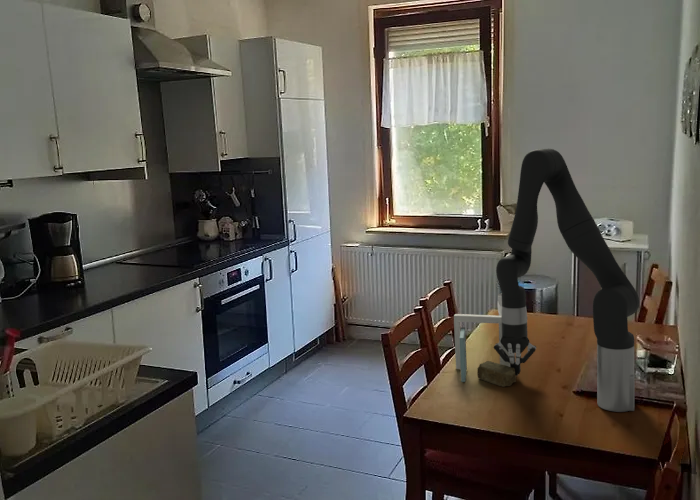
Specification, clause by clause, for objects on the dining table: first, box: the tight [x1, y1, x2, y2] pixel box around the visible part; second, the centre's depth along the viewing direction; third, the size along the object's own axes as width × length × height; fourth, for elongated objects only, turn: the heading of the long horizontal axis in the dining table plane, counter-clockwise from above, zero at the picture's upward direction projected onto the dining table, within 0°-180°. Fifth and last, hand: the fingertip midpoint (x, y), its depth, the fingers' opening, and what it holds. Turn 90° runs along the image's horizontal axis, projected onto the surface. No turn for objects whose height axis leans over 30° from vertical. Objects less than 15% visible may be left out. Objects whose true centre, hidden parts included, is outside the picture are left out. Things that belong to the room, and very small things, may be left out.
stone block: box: [477, 360, 517, 388], centre depth 197 cm, size 6×12×5 cm, turn 38°
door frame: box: [453, 313, 510, 370], centre depth 206 cm, size 18×2×18 cm, turn 68°
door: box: [460, 326, 468, 383], centre depth 202 cm, size 12×1×14 cm, turn 168°
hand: (515, 374), depth 197 cm, fingers closed
